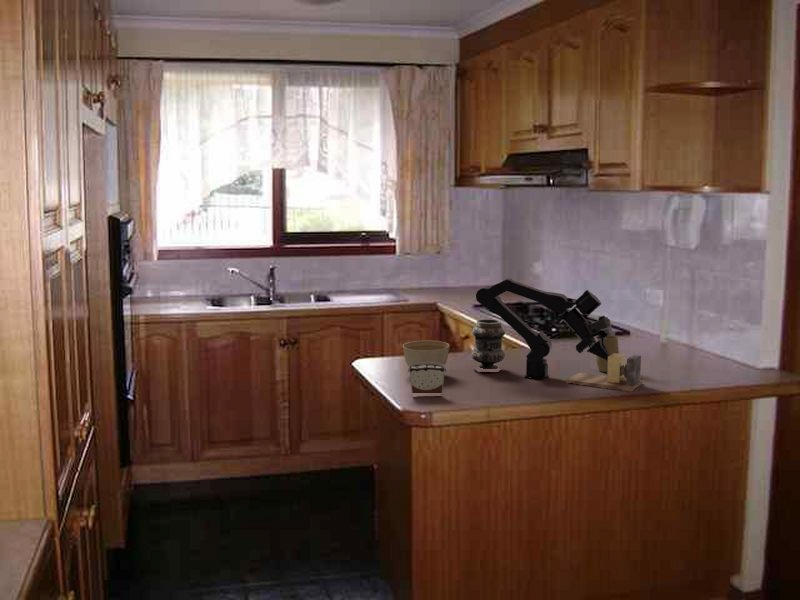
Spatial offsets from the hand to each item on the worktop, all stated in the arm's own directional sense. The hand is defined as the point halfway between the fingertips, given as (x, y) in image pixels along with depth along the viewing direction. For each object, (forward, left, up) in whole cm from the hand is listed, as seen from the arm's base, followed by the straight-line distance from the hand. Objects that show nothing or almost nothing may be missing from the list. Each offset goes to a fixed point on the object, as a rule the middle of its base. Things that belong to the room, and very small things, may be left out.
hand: (610, 359), depth 286 cm
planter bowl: (-59, -20, -8) cm, 63 cm away
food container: (-46, -42, -8) cm, 63 cm away
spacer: (+2, 0, -7) cm, 7 cm away
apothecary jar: (-44, -2, -8) cm, 45 cm away
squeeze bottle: (-7, +18, -8) cm, 21 cm away
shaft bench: (-2, 0, -8) cm, 8 cm away
